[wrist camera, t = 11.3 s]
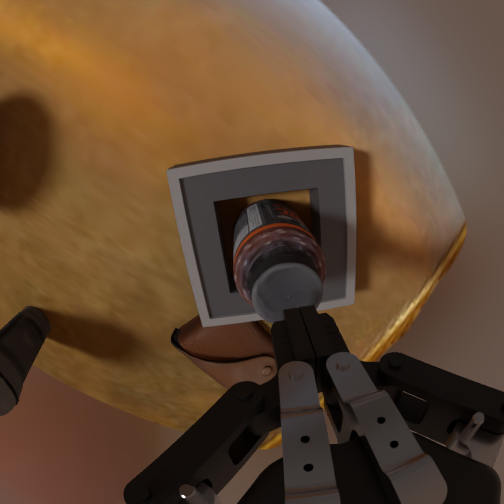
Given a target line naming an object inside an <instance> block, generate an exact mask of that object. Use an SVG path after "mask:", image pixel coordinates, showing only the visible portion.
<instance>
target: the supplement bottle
mask: <svg viewBox="0 0 504 504" xmlns="http://www.w3.org/2000/svg"><path fill="white" fill-rule="evenodd" d="M233 253H234V258H233V271H234V280H235V284H236V287H237V289H238V291H239V293H240V294H241V296H242V297H243V298H244V299H245V301H246V302H248V303H249V304H250V305H252V306H253V307H254V309H255V311H256V312H257V314H258V315H259V316H260V317H261V318H263V319H264V320H265V321H267V322H270V323H274V322H275V321H281V320H284V318H283V310H284V309H291V308H297V307H298V308H299V307H302V306H308V305H314V306H315V308H316V309H317V308H318V306H319V304H320V302H321V300H322V296H323V282H324V279H325V275H326V261H325V257H324V254H323V251H322V249H321V247H320V245H319V244H318V242H317V241H316V239H315V238H314V236H313V235H312V234H311V232H310V231H309V230H308V228H307V227H306V226H305V224H304V223H303V221H302V220H301V219H300V217H299V216H298V215H297V213H296V212H295V211H294V210H293V209H292V208H291V207H289V206H288V205H287V204H285V203H283V202H280V201H277V200H272V199H264V200H259V201H256V202H254V203H252V204H250V205H249V206H247V207H246V208H245V209H244V210H243V211H242V212H241V213H240V215H239V217H238V218H237V221H236V223H235V228H234V252H233Z"/></svg>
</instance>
